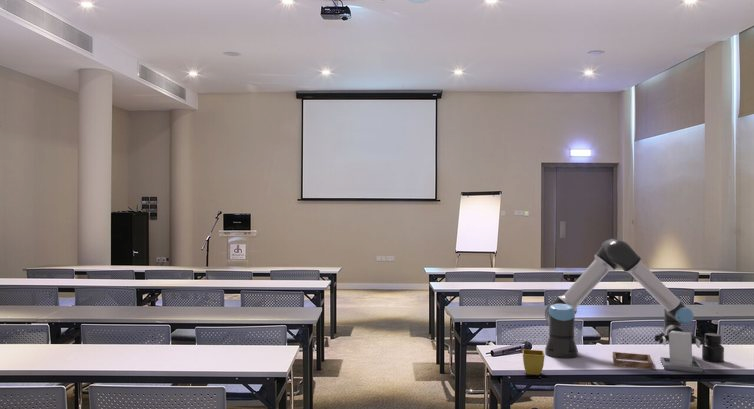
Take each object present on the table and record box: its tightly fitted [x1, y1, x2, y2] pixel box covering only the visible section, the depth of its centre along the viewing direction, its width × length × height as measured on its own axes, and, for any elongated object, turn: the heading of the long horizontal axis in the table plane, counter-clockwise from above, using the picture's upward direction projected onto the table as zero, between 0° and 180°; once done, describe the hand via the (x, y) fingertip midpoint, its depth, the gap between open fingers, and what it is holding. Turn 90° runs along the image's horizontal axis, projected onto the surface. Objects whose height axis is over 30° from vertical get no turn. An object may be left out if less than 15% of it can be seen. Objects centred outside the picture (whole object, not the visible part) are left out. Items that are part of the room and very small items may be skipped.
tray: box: [659, 356, 704, 374], centre depth 271 cm, size 15×15×2 cm
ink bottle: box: [701, 332, 725, 363], centre depth 284 cm, size 10×9×12 cm
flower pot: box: [521, 349, 546, 376], centre depth 258 cm, size 9×9×9 cm
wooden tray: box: [612, 351, 654, 370], centre depth 278 cm, size 16×17×2 cm
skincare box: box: [668, 331, 693, 367], centre depth 271 cm, size 8×6×15 cm
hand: (682, 343), depth 269 cm, fingers open, 13 cm apart
